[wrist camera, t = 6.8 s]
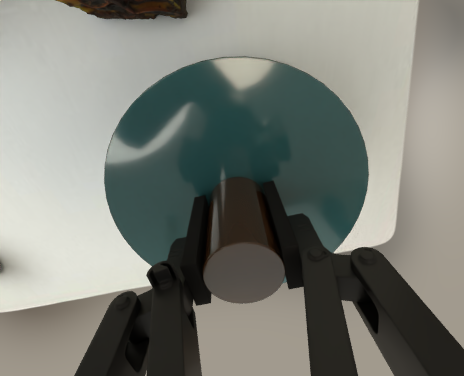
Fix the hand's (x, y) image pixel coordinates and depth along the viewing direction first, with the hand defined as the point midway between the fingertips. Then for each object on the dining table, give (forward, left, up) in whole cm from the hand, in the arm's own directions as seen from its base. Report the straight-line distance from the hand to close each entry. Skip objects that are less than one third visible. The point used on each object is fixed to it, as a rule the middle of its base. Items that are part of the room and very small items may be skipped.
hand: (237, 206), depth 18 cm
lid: (0, 0, -1) cm, 1 cm away
